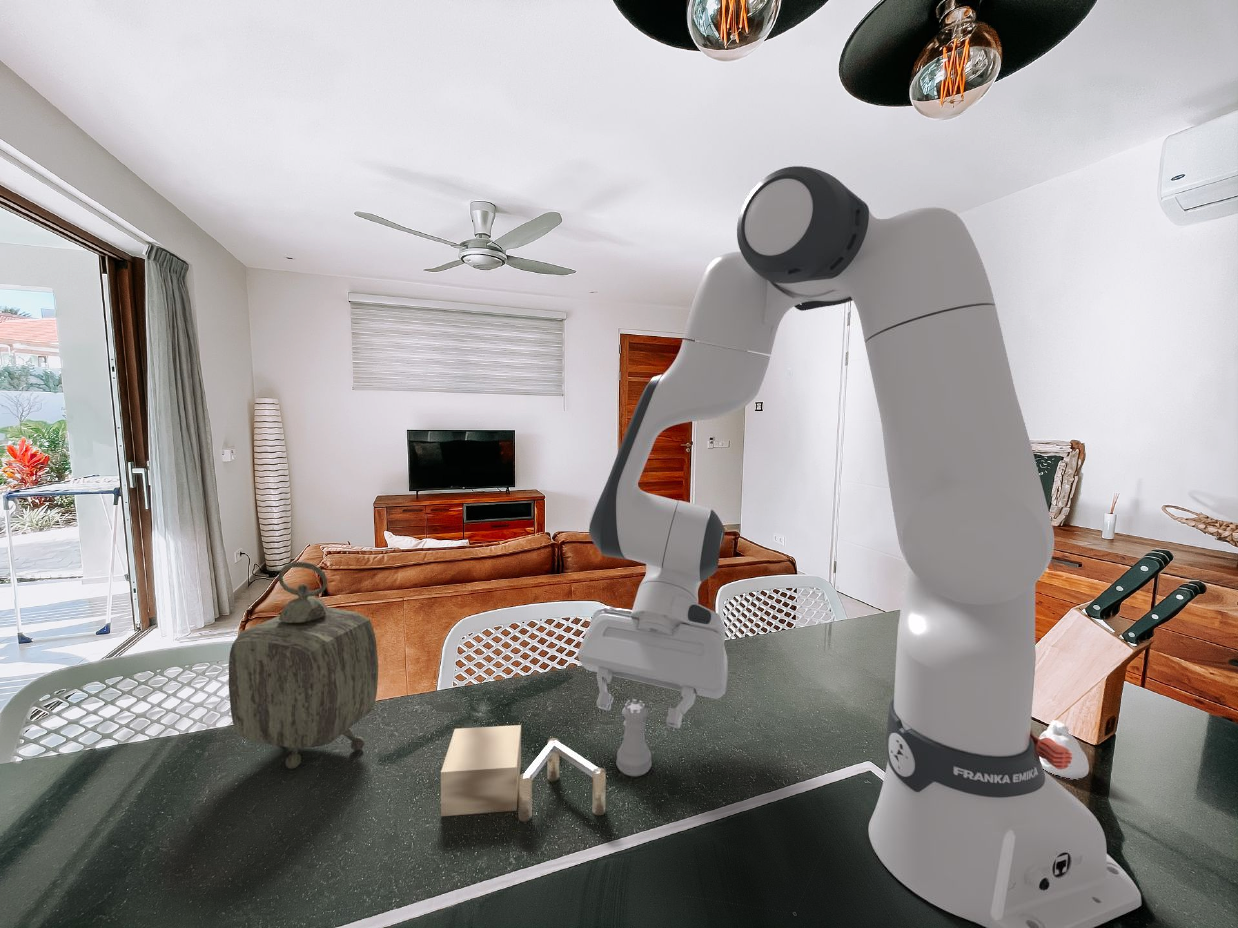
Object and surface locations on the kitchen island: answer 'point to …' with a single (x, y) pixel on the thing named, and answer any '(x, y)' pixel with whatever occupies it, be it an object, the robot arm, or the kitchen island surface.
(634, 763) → the rook chess piece
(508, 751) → the pedestal
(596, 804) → the railing
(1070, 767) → the garlic bulb
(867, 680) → the kitchen island surface
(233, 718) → the tabletop clock
